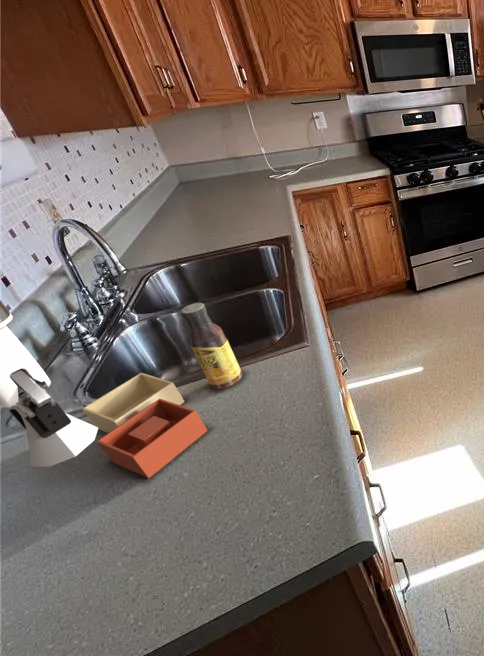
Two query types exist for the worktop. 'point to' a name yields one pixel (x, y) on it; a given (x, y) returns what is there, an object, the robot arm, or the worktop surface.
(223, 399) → the worktop surface
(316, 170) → the worktop surface
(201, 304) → the sauce bottle
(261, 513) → the worktop surface
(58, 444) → the flask
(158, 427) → the terracotta block
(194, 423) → the terracotta bin
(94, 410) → the cream bin
